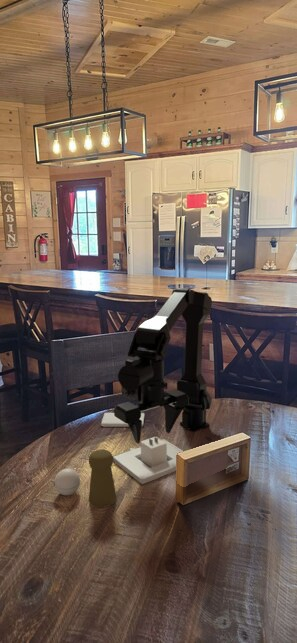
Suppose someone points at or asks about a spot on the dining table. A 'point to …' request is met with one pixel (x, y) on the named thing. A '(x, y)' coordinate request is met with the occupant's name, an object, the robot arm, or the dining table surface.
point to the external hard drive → (116, 421)
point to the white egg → (67, 481)
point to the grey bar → (126, 451)
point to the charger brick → (153, 451)
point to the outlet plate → (143, 471)
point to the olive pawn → (101, 479)
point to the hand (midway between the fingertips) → (153, 437)
